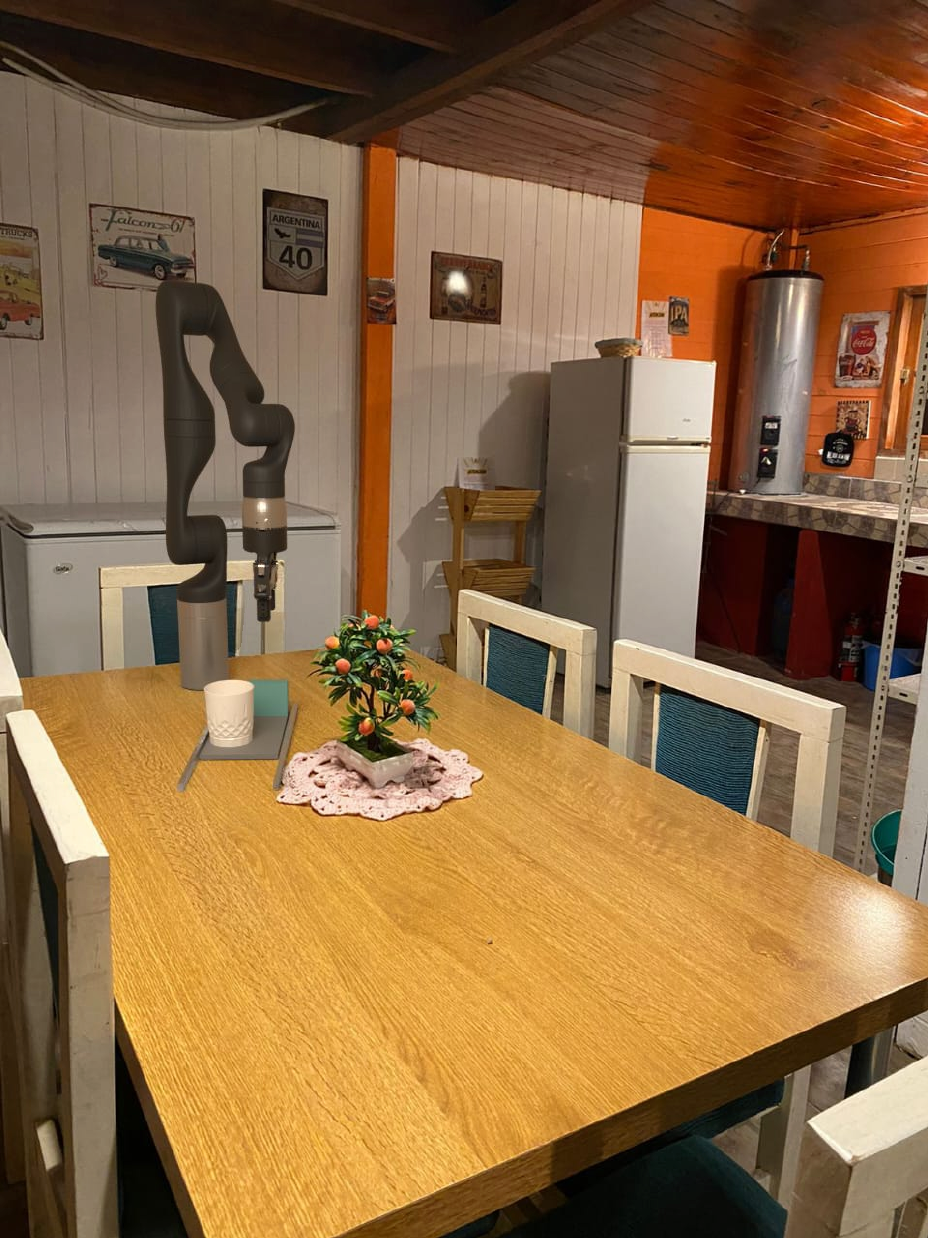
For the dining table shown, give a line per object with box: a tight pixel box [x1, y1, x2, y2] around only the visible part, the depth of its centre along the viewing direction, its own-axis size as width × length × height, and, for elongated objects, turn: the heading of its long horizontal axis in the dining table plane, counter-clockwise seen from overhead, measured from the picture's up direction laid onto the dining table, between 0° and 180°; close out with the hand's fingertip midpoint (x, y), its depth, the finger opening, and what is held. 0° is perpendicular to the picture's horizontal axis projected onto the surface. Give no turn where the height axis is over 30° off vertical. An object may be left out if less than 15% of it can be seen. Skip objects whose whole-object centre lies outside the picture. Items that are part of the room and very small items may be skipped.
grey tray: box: [199, 678, 290, 761], centre depth 163 cm, size 22×12×7 cm, turn 5°
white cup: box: [203, 679, 254, 747], centre depth 159 cm, size 8×8×10 cm
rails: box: [176, 701, 299, 793], centre depth 160 cm, size 38×14×1 cm, turn 5°
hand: (266, 615), depth 171 cm, fingers open, 8 cm apart
